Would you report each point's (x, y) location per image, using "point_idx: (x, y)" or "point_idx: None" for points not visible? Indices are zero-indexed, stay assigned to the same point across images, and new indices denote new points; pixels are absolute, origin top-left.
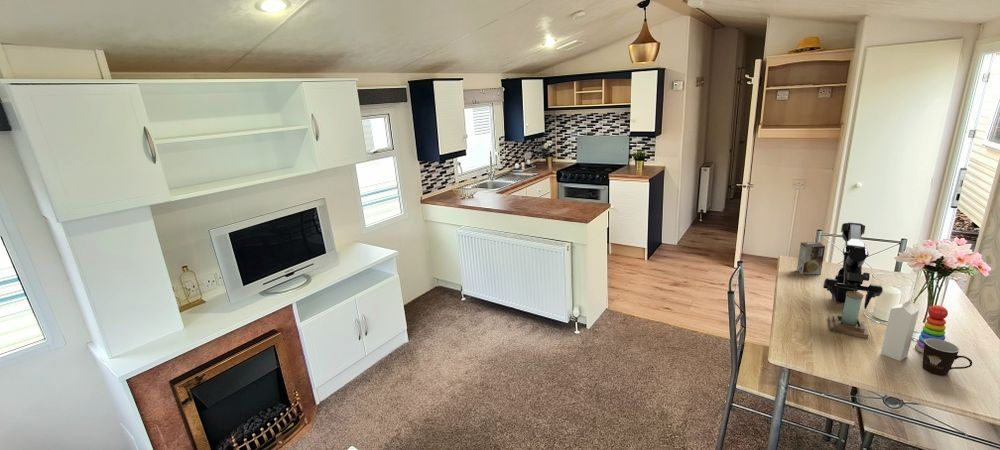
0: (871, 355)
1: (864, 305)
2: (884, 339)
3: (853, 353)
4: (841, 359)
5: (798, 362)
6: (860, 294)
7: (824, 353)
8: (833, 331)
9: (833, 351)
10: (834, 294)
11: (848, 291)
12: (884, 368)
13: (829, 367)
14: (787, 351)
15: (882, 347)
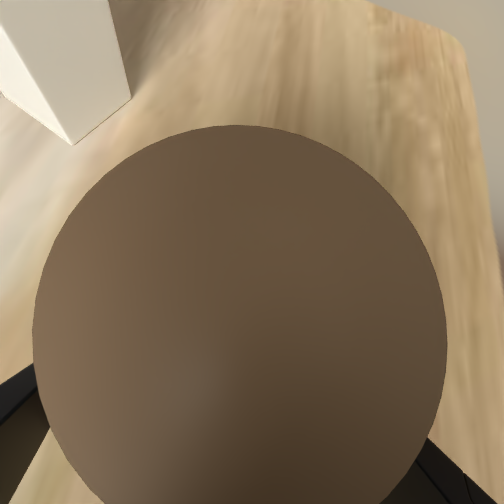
0: (176, 81)
1: (46, 421)
2: (108, 11)
3: (243, 85)
4: (292, 44)
5: (409, 18)
6: (118, 298)
7: (341, 71)
8: None
9: (311, 87)
10: (477, 485)
11: (406, 421)
12: (161, 9)
13: (332, 3)
14: (441, 67)
15: (122, 64)
